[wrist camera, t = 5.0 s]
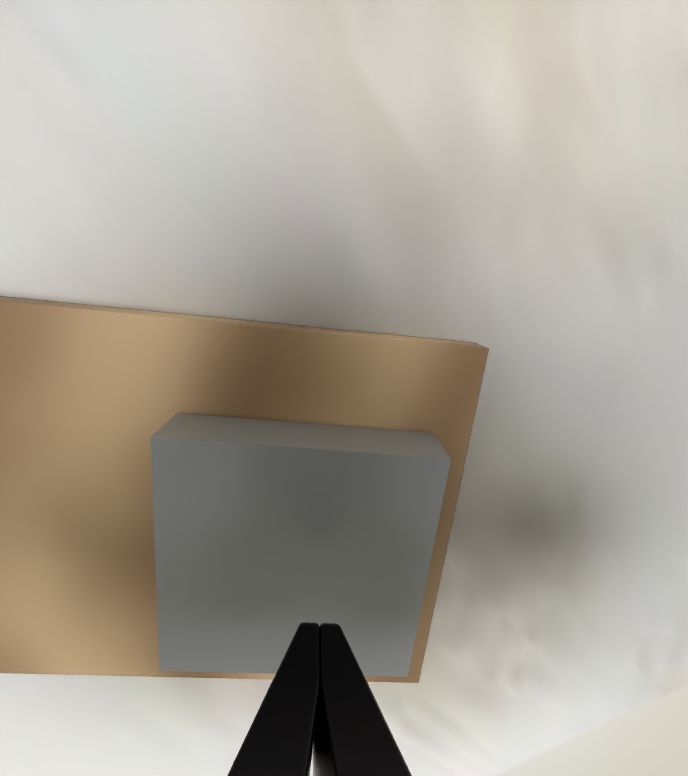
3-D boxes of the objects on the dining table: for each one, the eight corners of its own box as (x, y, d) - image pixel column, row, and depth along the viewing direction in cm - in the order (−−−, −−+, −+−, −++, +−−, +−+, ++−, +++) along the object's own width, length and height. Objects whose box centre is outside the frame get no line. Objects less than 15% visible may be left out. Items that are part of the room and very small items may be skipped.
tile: (177, 412, 10) (431, 431, 11) (181, 618, 12) (396, 625, 12) (150, 437, 8) (450, 458, 9) (159, 670, 10) (407, 676, 11)
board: (474, 342, 11) (488, 348, 10) (412, 655, 14) (418, 682, 13) (-38, 292, 10) (-77, 293, 9) (20, 644, 13) (-3, 672, 12)
